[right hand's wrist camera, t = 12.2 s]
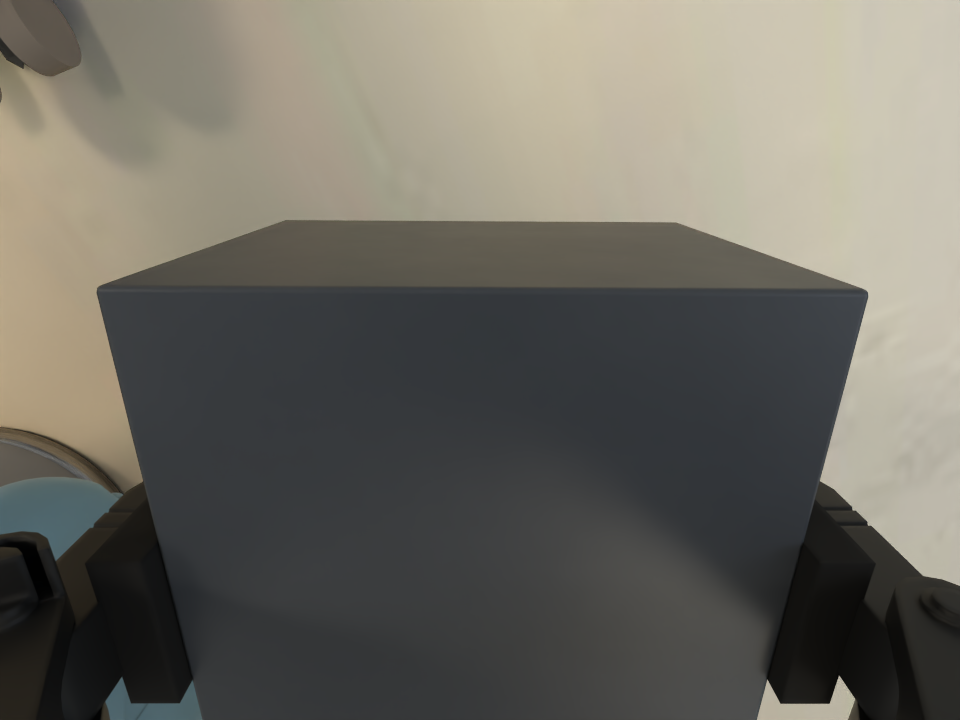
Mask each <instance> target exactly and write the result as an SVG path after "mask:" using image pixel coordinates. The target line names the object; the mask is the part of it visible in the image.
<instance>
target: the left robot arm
mask: <svg viewBox="0 0 960 720" xmlns="http://www.w3.org/2000/svg"><path fill="white" fill-rule="evenodd" d="M123 495H124V494H121V493H120V491H119V490H118V489H117V488H116V487H115V485H114V484H113V483H112V482H111V481H110V480H109V479H108V478H107V477H106V476H105V475H104V474H103V473H102V472H101V471H100V470H99V469H97V468H96V467H95V466H94V465H92V464H91V463H90V462H89V461H87V460H86V459H84V458H83V457H81V456H80V455H78V454H77V453H75V452H73V451H71V450H70V449H68V448H66V447H64V446H62V445H60V444H58V443H56V442H54V441H51V440H49V439H46V438H43V437H41V436H38V435H34V434H31V433H28V432H23V431H19V430H14V429H7V428H0V534H7V533H13V532H19V531H26V532H38V533H40V534H41V535H43V536H45V537H46V538H48V541H49V544H50V547H51V549H52V552H53V555H54V558H55V561H56V560H57V559H58V558H59V557H60V556H61V555H62V554H63V553H64V552H65V551H67V550H68V549H69V548H70V547H71V546H72V545H73V544H74V543H75V542H76V541H77V540H78V539H79V538H80V537H81V536H82V535H83V534H84V533H85V532H86V531H87V530H88V529H89V528H93V527H94V523H95V522H96V521H97V520H98V519H99V518H100V517H101V516H102V515H103V514H104V513H108V512H109V508H110V507H111V506H112V505H114V504H115V503H116V502H117V501H118V500H119V499H120V498H121V497H122V496H123ZM105 702H106V705H107V708H108V710H109V716H110V720H202V716H201V712H200V708H199V704H198V700H197V696H196V692H195V688H194V684H193V680H192V682H191V684H190V686H189V687H188V689H187V691H186V693H185V695H184V697H183V699H182V700H181V702H180V703H148V704H131V702H130V699H129V696H128V693H127V690H126V687H125V684H124V681H123V678H122V677H121V679H120V680H119V682H118V683H117V685H116V686H115V688H114V689H113V691H112V692H111V694H110V695H109V697H108V698H107V700H106V701H105Z"/></svg>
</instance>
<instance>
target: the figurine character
mask: <svg viewBox="0 0 960 720" xmlns="http://www.w3.org/2000/svg"><path fill="white" fill-rule="evenodd" d="M0 51H1V52H2V54H3V55H4V57H5V58H6V60H8V61H10V62H12V63H14V64H15V65H17V66H19V67H21V68H23V69H24V63H25V64H26V65H27V66H29V67H30V68H32V69H33V70H35V71H36V72H38V73H40V74H42V75H45V76H54V75H56V74H59V73H61V72H64V71H66V70H69V69H71V68H73V67H76V66H78V65H79V64H80V62H81V52H80V48H79V44H78V42H77V39H76V37H75V35H74V33H73V31H72V29H71V27H70V25H69V24H68V22H67V20H66V19H65V17H64V16H63V14H62V13H61V12H60V10H59V9H58V7H57V6H56V5H55V4H54V2H53V1H52V0H0ZM1 98H2V94H1V89H0V102H1Z"/></svg>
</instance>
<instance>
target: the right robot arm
mask: <svg viewBox="0 0 960 720" xmlns="http://www.w3.org/2000/svg"><path fill="white" fill-rule="evenodd" d="M839 675H840V677H841V678H842V680H843V681H844V683H845V684H846V686H847V687H848V689H849V690H850V692H851V693H852V695H853V696H854V698H855V702H854V705H853V708H852V710H851V713H850V716H849V719H848V720H960V586H958V585H956V584H953V583H950V582H947V581H945V580H942V579H936V578H930V577H925V576H922V575H921V574H920V573H919V572H918V571H917V570H916V569H915V568H914V567H913V566H912V565H911V564H910V563H909V562H908V561H907V560H906V559H905V558H904V557H903V556H902V555H901V554H900V553H899V552H898V551H897V550H896V549H895V548H894V547H893V546H892V545H891V544H889V543H888V542H887V541H886V540H885V539H884V538H883V537H882V536H881V535H880V534H879V533H878V532H877V531H876V530H875V529H874V528H873V527H872V526H868V524H867V521H866V520H865V519H864V518H863V517H862V516H861V515H860V514H859V513H858V512H857V511H853V510H852V507H851V506H850V505H849V504H848V503H847V502H846V501H845V500H844V499H843V498H842V497H841V496H840V495H839V494H838V493H837V492H836V491H835V490H834V489H832V488H831V487H829V486H827V485H825V484H824V483H822V482H820V481H819V485H818V489H817V493H816V496H815V500H814V504H813V508H812V512H811V515H810V519H809V523H808V527H807V531H806V534H805V538H804V542H803V546H802V549H801V553H800V557H799V561H798V565H797V568H796V572H795V576H794V580H793V584H792V587H791V591H790V595H789V599H788V603H787V606H786V610H785V614H784V618H783V621H782V625H781V629H780V633H779V637H778V640H777V644H776V648H775V652H774V656H773V659H772V663H771V667H770V671H769V675H768V678H767V679H768V681H769V683H770V685H771V687H772V689H773V690H774V692H775V694H776V696H777V698H778V700H779V702H780V703H781V704H830V701H831V698H832V695H833V692H834V689H835V686H836V683H837V680H838V677H839ZM121 677H122V678H123V681H124V684H125V687H126V690H127V693H128V696H129V699H130V702H131V704H148V703H180V702H181V700H182V699H183V697H184V695H185V693H186V691H187V689H188V687H189V686H190V684H191V682H192V676H191V671H190V667H189V663H188V659H187V655H186V651H185V647H184V643H183V639H182V635H181V631H180V627H179V623H178V619H177V615H176V611H175V607H174V603H173V599H172V595H171V591H170V587H169V583H168V579H167V575H166V571H165V566H164V562H163V558H162V554H161V550H160V546H159V542H158V538H157V534H156V530H155V526H154V522H153V518H152V514H151V510H150V506H149V502H148V498H147V494H146V490H145V486H144V482H142V483H140V484H139V485H137V486H135V487H133V488H132V489H130V490H128V491H127V492H126V493H125V494H124V495H123V496H122V497H121V498H120V499H119V500H118V501H117V502H116V503H115V504H114V505H112V506H111V507H110V508H109V512H108V513H104V514H103V515H102V516H101V517H100V518H99V519H98V520H97V521H96V522H95V523H94V527H93V528H89V529H88V530H87V531H86V532H85V533H84V534H83V535H82V536H81V537H80V538H79V539H78V540H77V541H76V542H75V543H74V544H73V545H72V546H71V547H70V548H69V549H68V550H67V551H65V552H64V553H63V554H62V555H61V556H60V557H59V558H58V559H57V560H56V561H55V558H54V555H53V552H52V549H51V547H50V544H49V541H48V538H46V537H45V536H43V535H41V534H40V533H38V532H26V531H19V532H13V533H7V534H0V720H110V716H109V710H108V708H107V705H106V702H105V701H106V700H107V698H108V697H109V695H110V694H111V692H112V691H113V689H114V688H115V686H116V685H117V683H118V682H119V680H120V679H121Z"/></svg>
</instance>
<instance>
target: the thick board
mask: <svg viewBox="0 0 960 720" xmlns="http://www.w3.org/2000/svg"><path fill="white" fill-rule="evenodd" d="M97 296H98V300H99V304H100V308H101V312H102V316H103V320H104V324H105V328H106V332H107V336H108V340H109V344H110V348H111V352H112V356H113V360H114V365H115V369H116V373H117V377H118V381H119V385H120V389H121V393H122V397H123V401H124V405H125V409H126V413H127V417H128V421H129V425H130V429H131V433H132V437H133V441H134V445H135V449H136V453H137V457H138V461H139V466H140V470H141V474H142V478H143V482H144V486H145V490H146V494H147V498H148V502H149V506H150V510H151V514H152V518H153V522H154V526H155V530H156V534H157V538H158V542H159V546H160V550H161V554H162V558H163V562H164V566H165V571H166V575H167V579H168V583H169V587H170V591H171V595H172V599H173V603H174V607H175V611H176V615H177V619H178V623H179V627H180V631H181V635H182V639H183V643H184V647H185V651H186V655H187V659H188V663H189V667H190V671H191V676H192V680H193V684H194V688H195V692H196V696H197V700H198V704H199V708H200V712H201V716H202V720H757V716H758V712H759V709H760V705H761V701H762V697H763V694H764V690H765V686H766V682H767V678H768V675H769V671H770V667H771V663H772V659H773V656H774V652H775V648H776V644H777V640H778V637H779V633H780V629H781V625H782V621H783V618H784V614H785V610H786V606H787V603H788V599H789V595H790V591H791V587H792V584H793V580H794V576H795V572H796V568H797V565H798V561H799V557H800V553H801V549H802V546H803V542H804V538H805V534H806V531H807V527H808V523H809V519H810V515H811V512H812V508H813V504H814V500H815V496H816V493H817V489H818V485H819V481H820V477H821V474H822V470H823V466H824V462H825V459H826V455H827V451H828V447H829V443H830V440H831V436H832V432H833V428H834V424H835V421H836V417H837V413H838V409H839V405H840V402H841V398H842V394H843V390H844V386H845V383H846V379H847V375H848V371H849V368H850V364H851V360H852V356H853V352H854V349H855V345H856V341H857V337H858V333H859V330H860V326H861V322H862V318H863V314H864V311H865V307H866V303H867V299H868V292H867V291H866V290H864V289H862V288H859V287H856V286H853V285H851V284H848V283H845V282H842V281H839V280H836V279H834V278H831V277H828V276H825V275H822V274H819V273H817V272H814V271H811V270H808V269H805V268H803V267H800V266H797V265H794V264H791V263H788V262H786V261H783V260H780V259H777V258H774V257H772V256H769V255H766V254H763V253H760V252H757V251H755V250H752V249H749V248H746V247H743V246H741V245H738V244H735V243H732V242H729V241H726V240H724V239H721V238H718V237H715V236H712V235H710V234H707V233H704V232H701V231H698V230H695V229H693V228H690V227H687V226H684V225H681V224H678V223H660V222H489V221H318V220H285V221H282V222H280V223H277V224H274V225H271V226H268V227H265V228H262V229H260V230H257V231H254V232H251V233H248V234H245V235H243V236H240V237H237V238H234V239H231V240H228V241H225V242H223V243H220V244H217V245H214V246H211V247H208V248H206V249H203V250H200V251H197V252H194V253H191V254H188V255H186V256H183V257H180V258H177V259H174V260H171V261H169V262H166V263H163V264H160V265H157V266H154V267H152V268H149V269H146V270H143V271H140V272H137V273H134V274H132V275H129V276H126V277H123V278H120V279H117V280H115V281H112V282H109V283H106V284H103V285H101V286H99V287H98V288H97Z"/></svg>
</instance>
